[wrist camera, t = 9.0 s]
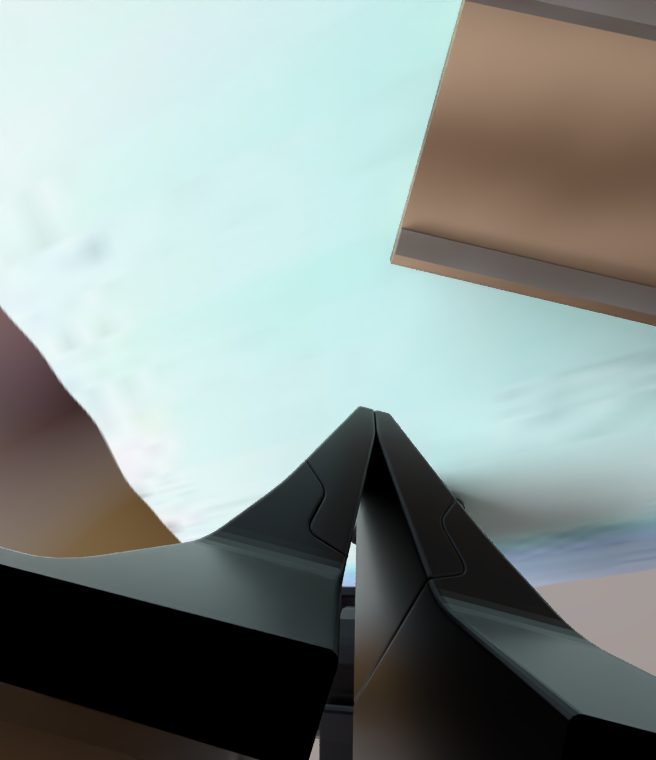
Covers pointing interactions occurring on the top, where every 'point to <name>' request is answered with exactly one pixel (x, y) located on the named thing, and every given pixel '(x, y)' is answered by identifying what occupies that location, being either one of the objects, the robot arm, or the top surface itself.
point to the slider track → (543, 156)
